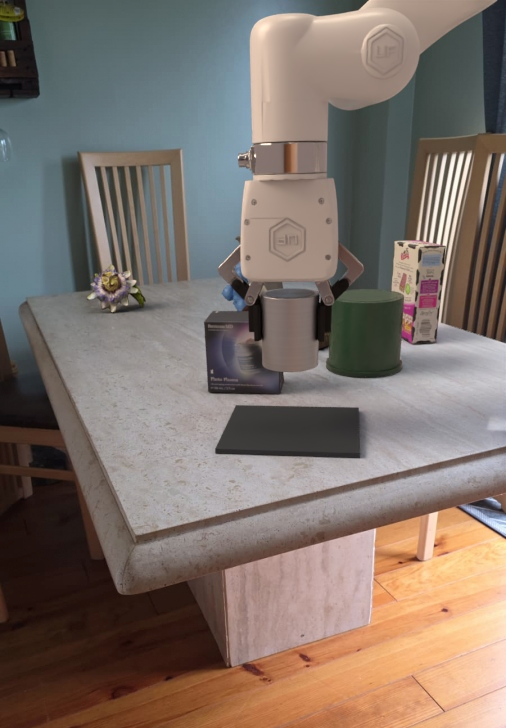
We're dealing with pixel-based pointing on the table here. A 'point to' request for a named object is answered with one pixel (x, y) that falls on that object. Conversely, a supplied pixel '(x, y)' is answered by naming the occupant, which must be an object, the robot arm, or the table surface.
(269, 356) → the steel cup
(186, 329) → the table surface
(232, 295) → the grapes
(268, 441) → the mat
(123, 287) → the passion flower
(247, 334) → the small box
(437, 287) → the candy bar box
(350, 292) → the green flanged canister
